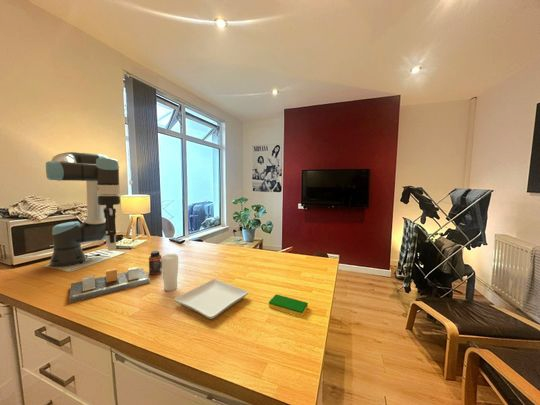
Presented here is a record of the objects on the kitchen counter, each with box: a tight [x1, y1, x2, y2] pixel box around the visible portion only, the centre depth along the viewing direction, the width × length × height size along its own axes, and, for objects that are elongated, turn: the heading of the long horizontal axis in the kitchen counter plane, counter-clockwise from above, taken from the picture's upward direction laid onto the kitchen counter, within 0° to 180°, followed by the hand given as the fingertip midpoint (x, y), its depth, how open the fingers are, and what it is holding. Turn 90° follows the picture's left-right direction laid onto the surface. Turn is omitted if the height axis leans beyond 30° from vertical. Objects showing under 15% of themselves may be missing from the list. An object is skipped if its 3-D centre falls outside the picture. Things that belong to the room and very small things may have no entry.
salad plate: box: [174, 278, 249, 320], centre depth 87 cm, size 21×21×3 cm
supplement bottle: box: [148, 250, 162, 276], centre depth 113 cm, size 6×6×11 cm
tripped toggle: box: [105, 267, 118, 283], centre depth 98 cm, size 2×4×5 cm, turn 131°
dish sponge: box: [268, 294, 309, 317], centre depth 84 cm, size 7×14×2 cm, turn 63°
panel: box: [68, 266, 151, 304], centre depth 99 cm, size 16×28×7 cm, turn 131°
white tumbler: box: [161, 253, 179, 292], centre depth 96 cm, size 7×7×15 cm
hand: (111, 247), depth 92 cm, fingers open, 8 cm apart
